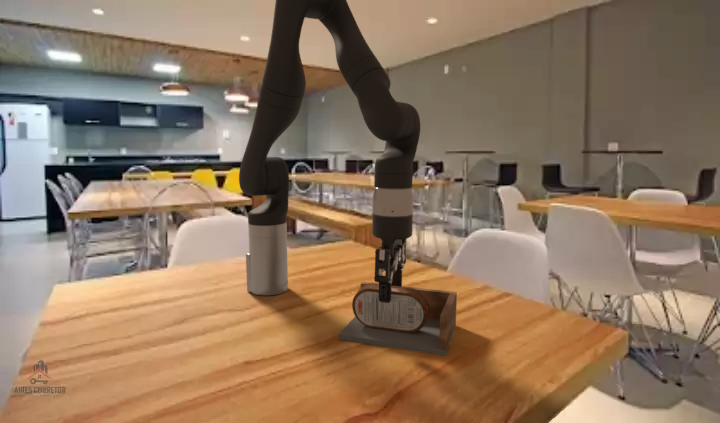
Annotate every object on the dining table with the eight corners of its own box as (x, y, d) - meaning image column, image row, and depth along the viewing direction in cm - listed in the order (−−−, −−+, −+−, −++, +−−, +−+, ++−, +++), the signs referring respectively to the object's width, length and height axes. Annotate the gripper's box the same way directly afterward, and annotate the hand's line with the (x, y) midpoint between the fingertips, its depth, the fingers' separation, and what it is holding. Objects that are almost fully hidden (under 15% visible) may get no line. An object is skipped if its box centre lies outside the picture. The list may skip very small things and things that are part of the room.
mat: (338, 339, 83) (338, 334, 83) (362, 313, 96) (362, 308, 96) (445, 355, 77) (446, 350, 76) (455, 325, 90) (455, 320, 90)
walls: (338, 334, 83) (338, 303, 82) (362, 308, 96) (362, 281, 95) (446, 350, 76) (447, 317, 76) (455, 320, 90) (456, 291, 89)
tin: (430, 331, 84) (431, 288, 83) (426, 337, 82) (428, 293, 80) (355, 320, 89) (355, 280, 88) (350, 326, 86) (350, 285, 85)
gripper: (403, 218, 75) (401, 310, 77) (419, 207, 88) (417, 285, 91) (361, 216, 77) (360, 304, 80) (383, 205, 90) (382, 281, 93)
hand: (390, 294), depth 85 cm, fingers open, 8 cm apart
